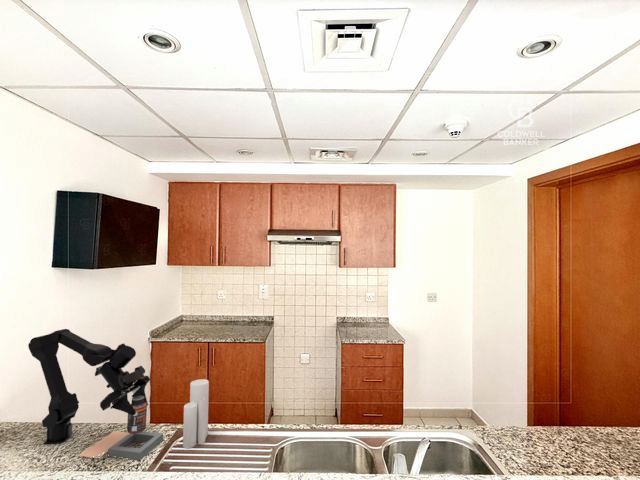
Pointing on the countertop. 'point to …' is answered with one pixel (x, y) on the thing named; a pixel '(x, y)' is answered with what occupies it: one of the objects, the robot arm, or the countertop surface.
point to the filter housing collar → (135, 453)
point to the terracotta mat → (104, 444)
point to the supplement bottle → (137, 416)
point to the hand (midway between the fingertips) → (140, 410)
